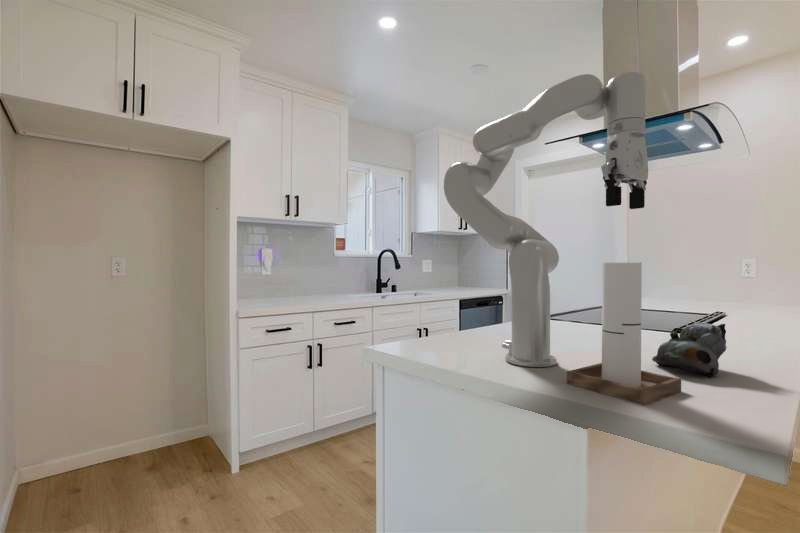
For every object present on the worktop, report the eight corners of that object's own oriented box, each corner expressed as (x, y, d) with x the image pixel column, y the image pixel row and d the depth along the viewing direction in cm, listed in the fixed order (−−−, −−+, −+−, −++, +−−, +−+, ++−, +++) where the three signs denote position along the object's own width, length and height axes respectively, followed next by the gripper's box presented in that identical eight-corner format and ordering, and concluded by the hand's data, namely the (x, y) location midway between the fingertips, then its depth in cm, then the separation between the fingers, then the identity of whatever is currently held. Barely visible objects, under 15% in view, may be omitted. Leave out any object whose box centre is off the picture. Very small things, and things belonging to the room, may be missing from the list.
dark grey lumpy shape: (646, 361, 105) (668, 313, 106) (698, 385, 100) (721, 334, 101) (661, 357, 91) (686, 302, 93) (723, 384, 87) (748, 326, 88)
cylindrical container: (646, 389, 80) (647, 262, 80) (607, 387, 82) (608, 262, 81) (633, 378, 87) (634, 262, 87) (597, 377, 89) (598, 262, 88)
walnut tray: (567, 383, 87) (567, 371, 87) (604, 372, 95) (604, 362, 95) (645, 405, 74) (645, 391, 74) (681, 391, 81) (681, 378, 81)
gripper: (621, 119, 84) (621, 202, 85) (662, 133, 94) (662, 207, 94) (587, 129, 91) (587, 206, 91) (629, 141, 100) (629, 211, 100)
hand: (625, 207), depth 92 cm, fingers open, 9 cm apart
